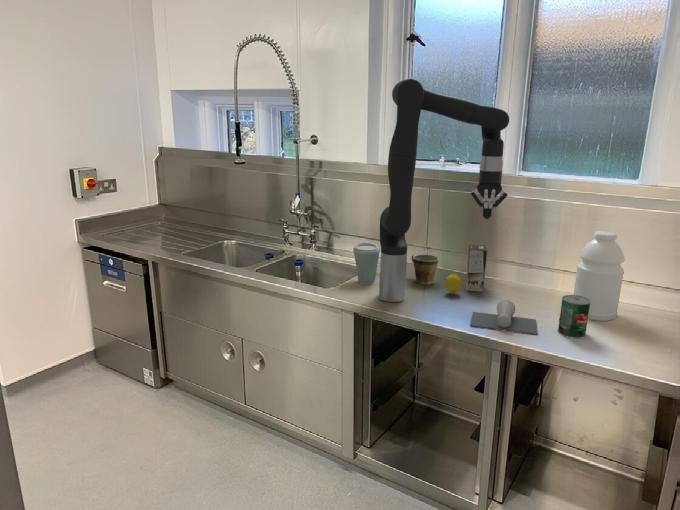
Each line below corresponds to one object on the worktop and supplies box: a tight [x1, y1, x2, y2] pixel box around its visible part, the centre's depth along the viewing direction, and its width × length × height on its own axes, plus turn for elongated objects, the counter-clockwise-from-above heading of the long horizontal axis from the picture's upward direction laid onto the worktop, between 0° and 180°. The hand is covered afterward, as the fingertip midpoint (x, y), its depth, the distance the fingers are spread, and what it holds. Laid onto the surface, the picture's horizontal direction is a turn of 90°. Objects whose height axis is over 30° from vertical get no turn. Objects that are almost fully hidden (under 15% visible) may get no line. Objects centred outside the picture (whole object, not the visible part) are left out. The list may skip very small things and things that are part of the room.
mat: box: [469, 311, 538, 336], centre depth 167 cm, size 12×20×1 cm, turn 72°
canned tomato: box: [557, 294, 590, 339], centre depth 159 cm, size 8×8×11 cm
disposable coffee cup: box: [352, 241, 381, 285], centre depth 204 cm, size 11×11×15 cm
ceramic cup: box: [411, 253, 439, 286], centre depth 207 cm, size 13×10×10 cm
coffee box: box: [465, 244, 488, 293], centre depth 199 cm, size 9×6×16 cm
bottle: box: [573, 230, 626, 322], centre depth 172 cm, size 14×14×28 cm
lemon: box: [445, 273, 462, 295], centre depth 192 cm, size 6×6×8 cm
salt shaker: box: [496, 299, 516, 328], centre depth 167 cm, size 6×6×13 cm
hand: (486, 218), depth 184 cm, fingers closed
